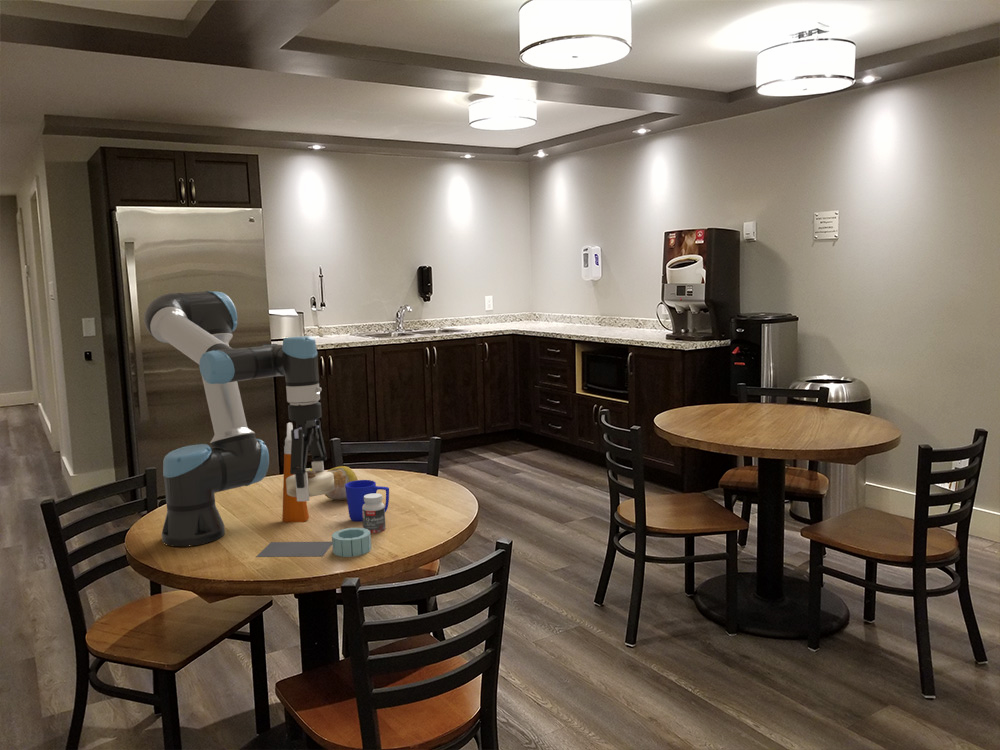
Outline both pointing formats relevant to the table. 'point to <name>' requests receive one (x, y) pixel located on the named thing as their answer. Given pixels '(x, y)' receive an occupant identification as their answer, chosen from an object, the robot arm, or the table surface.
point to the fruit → (341, 482)
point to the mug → (361, 497)
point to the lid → (313, 483)
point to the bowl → (351, 542)
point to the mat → (295, 549)
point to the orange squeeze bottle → (291, 506)
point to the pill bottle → (373, 513)
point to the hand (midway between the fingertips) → (311, 494)
